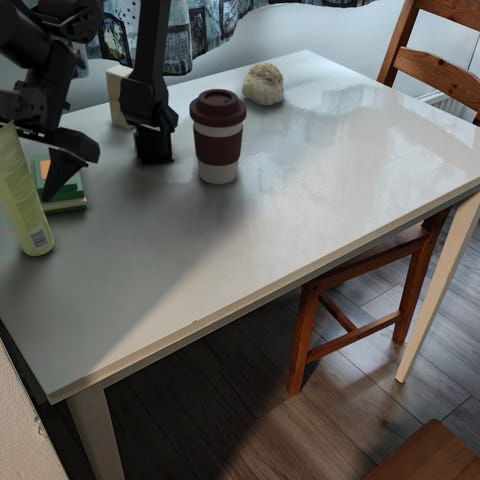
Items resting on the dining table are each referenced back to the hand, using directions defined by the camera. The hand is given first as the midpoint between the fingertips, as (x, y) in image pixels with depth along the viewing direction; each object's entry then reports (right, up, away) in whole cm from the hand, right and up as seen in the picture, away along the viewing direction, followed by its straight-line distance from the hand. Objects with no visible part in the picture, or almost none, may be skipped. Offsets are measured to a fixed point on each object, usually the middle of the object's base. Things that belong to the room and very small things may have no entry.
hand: (17, 194), depth 74 cm
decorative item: (+37, +35, +50) cm, 71 cm away
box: (+7, +25, +39) cm, 47 cm away
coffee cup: (+27, +10, +26) cm, 39 cm away
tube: (0, -6, +10) cm, 11 cm away
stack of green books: (-1, +5, +20) cm, 21 cm away
